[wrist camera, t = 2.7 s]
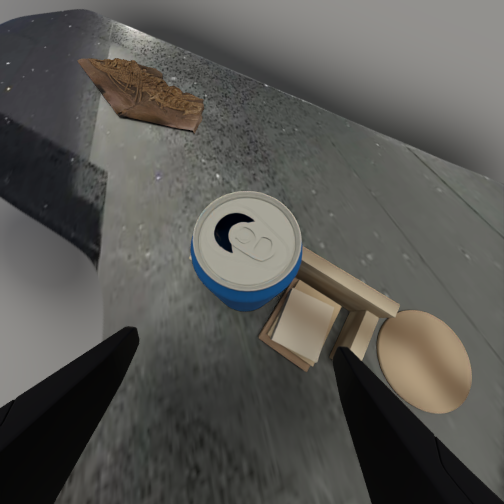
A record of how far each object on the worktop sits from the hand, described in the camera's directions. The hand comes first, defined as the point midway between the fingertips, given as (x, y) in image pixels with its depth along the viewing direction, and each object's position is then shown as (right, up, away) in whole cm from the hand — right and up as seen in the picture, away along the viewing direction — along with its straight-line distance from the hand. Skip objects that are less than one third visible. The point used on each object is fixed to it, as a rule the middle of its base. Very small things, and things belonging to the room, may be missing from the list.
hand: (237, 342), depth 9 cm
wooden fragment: (-18, +29, +22) cm, 41 cm away
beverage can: (0, +1, +13) cm, 13 cm away
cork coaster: (+18, -6, +11) cm, 22 cm away
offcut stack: (+5, -3, +11) cm, 13 cm away
